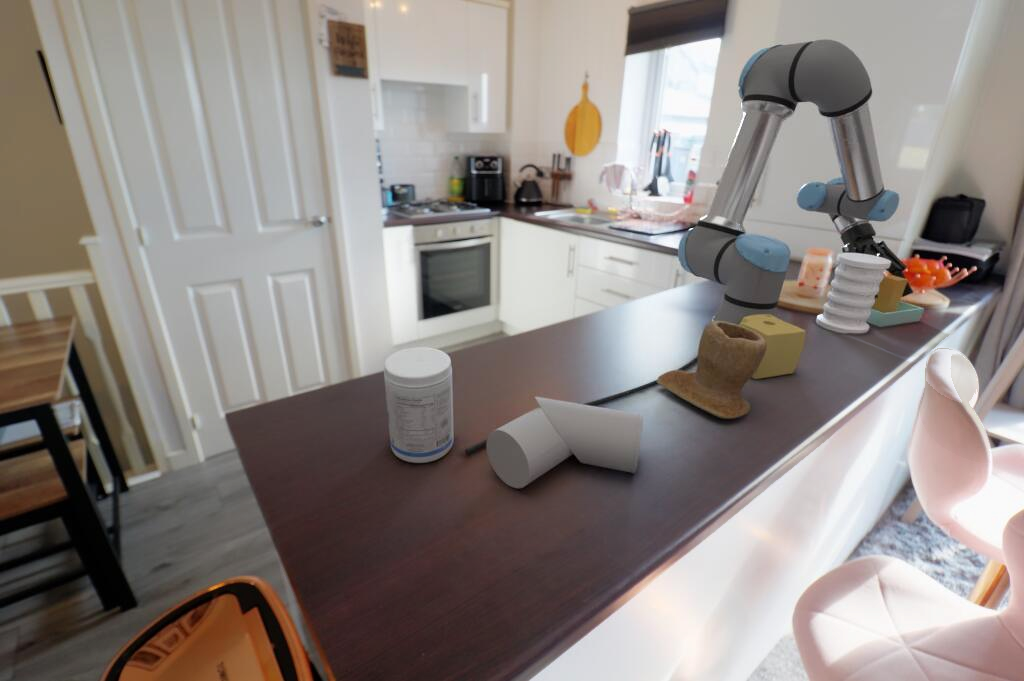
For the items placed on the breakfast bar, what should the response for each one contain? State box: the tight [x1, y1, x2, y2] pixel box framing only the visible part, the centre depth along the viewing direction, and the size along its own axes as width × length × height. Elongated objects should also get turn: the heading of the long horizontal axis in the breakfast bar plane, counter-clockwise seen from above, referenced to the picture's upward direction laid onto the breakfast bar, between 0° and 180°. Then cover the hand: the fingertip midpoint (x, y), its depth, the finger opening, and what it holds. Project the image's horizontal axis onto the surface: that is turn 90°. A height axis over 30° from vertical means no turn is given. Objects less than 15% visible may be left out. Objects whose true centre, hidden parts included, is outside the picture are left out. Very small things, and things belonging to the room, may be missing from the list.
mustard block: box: [871, 274, 909, 313], centre depth 128 cm, size 4×4×11 cm
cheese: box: [739, 314, 807, 380], centre depth 99 cm, size 10×11×10 cm
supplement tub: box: [383, 346, 454, 464], centre depth 70 cm, size 10×10×15 cm
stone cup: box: [656, 321, 766, 420], centre depth 85 cm, size 15×12×15 cm
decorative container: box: [815, 252, 891, 335], centre depth 121 cm, size 12×12×18 cm
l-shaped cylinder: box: [485, 396, 644, 489], centre depth 68 cm, size 18×11×20 cm
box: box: [866, 300, 925, 328], centre depth 129 cm, size 15×10×4 cm
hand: (890, 297), depth 127 cm, fingers open, 13 cm apart
